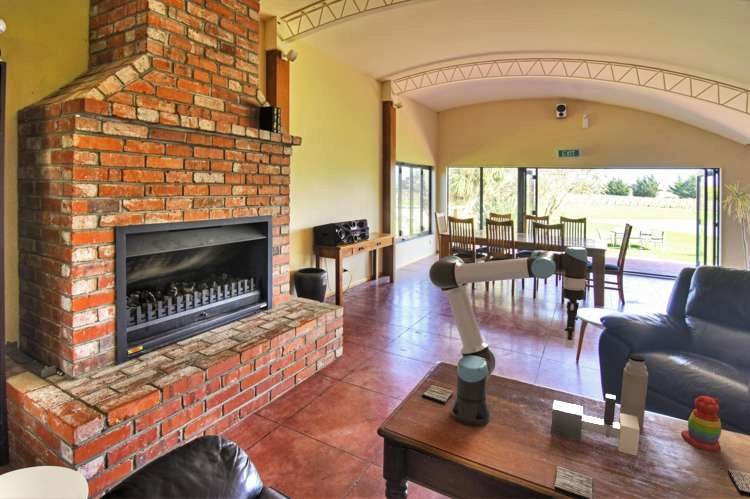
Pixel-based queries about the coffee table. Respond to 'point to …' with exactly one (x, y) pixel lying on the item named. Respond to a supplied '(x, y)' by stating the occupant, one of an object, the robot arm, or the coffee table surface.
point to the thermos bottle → (634, 388)
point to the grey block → (567, 419)
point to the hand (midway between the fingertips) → (570, 341)
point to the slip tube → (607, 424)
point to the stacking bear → (704, 424)
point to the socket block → (628, 434)
